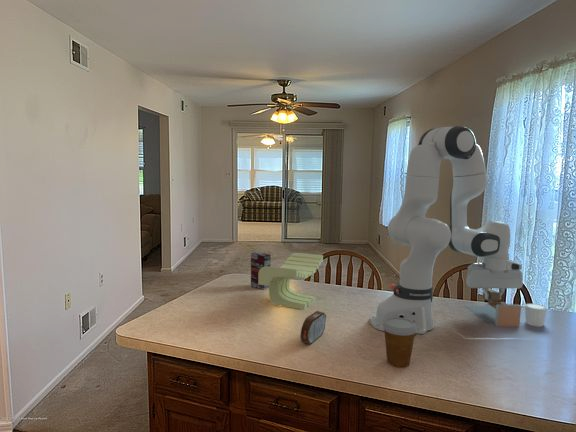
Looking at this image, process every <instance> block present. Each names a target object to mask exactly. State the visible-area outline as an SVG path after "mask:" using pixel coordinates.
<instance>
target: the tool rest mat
mask: <svg viewBox="0 0 576 432" xmlns="http://www.w3.org/2000/svg"><path fill="white" fill-rule="evenodd" d="M464 307H465V308H467V309H468V310H470V311H471V312H472V313H473V314H475V316H477V317H478V318H480V319H481V320H482V321H484V322H485V323H487V324H495V317H496V309H495V308H493V307H492V306H490V305H464ZM520 324H521V322H520Z"/></svg>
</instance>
